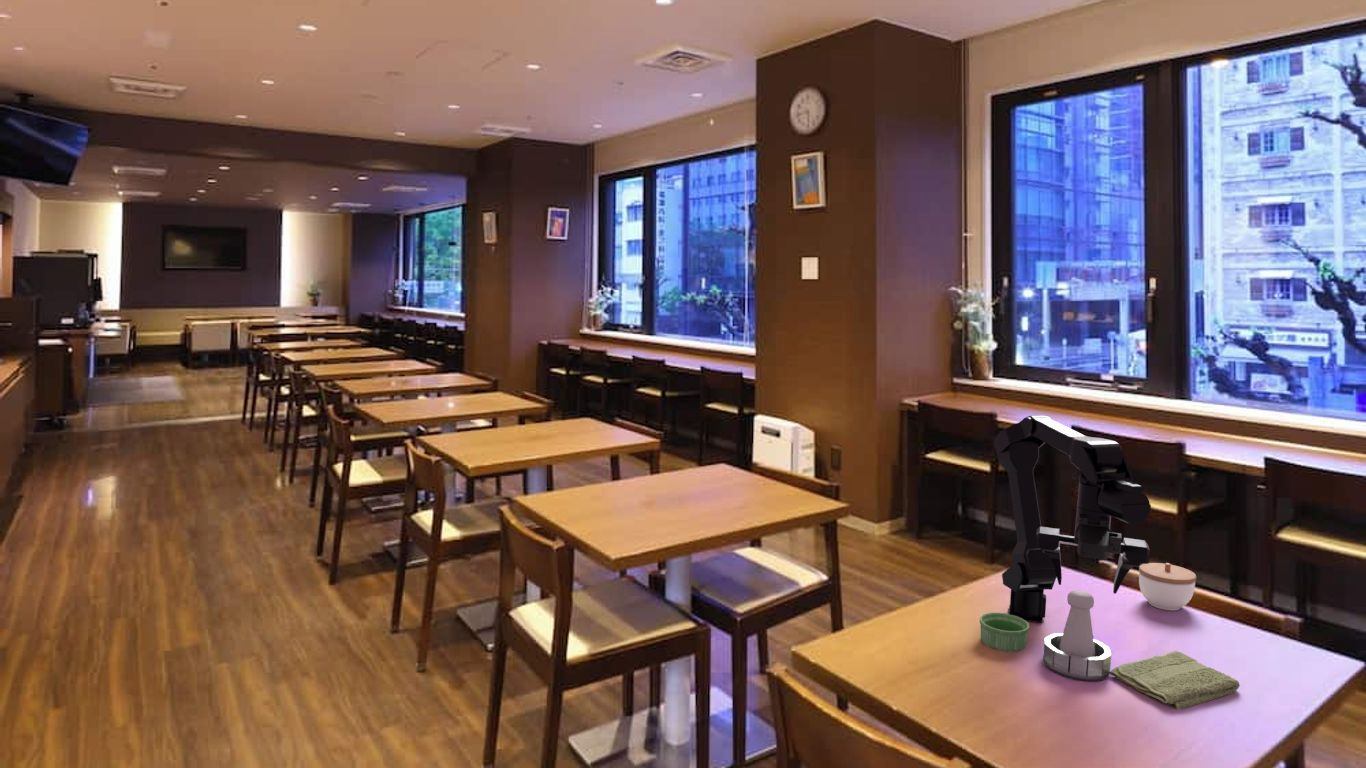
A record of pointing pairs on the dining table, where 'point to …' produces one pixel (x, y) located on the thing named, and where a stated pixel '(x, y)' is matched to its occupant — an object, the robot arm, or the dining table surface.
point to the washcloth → (1176, 679)
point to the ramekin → (1003, 631)
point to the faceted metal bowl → (1076, 661)
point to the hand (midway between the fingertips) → (1086, 588)
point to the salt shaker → (1078, 626)
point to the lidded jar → (1166, 585)
